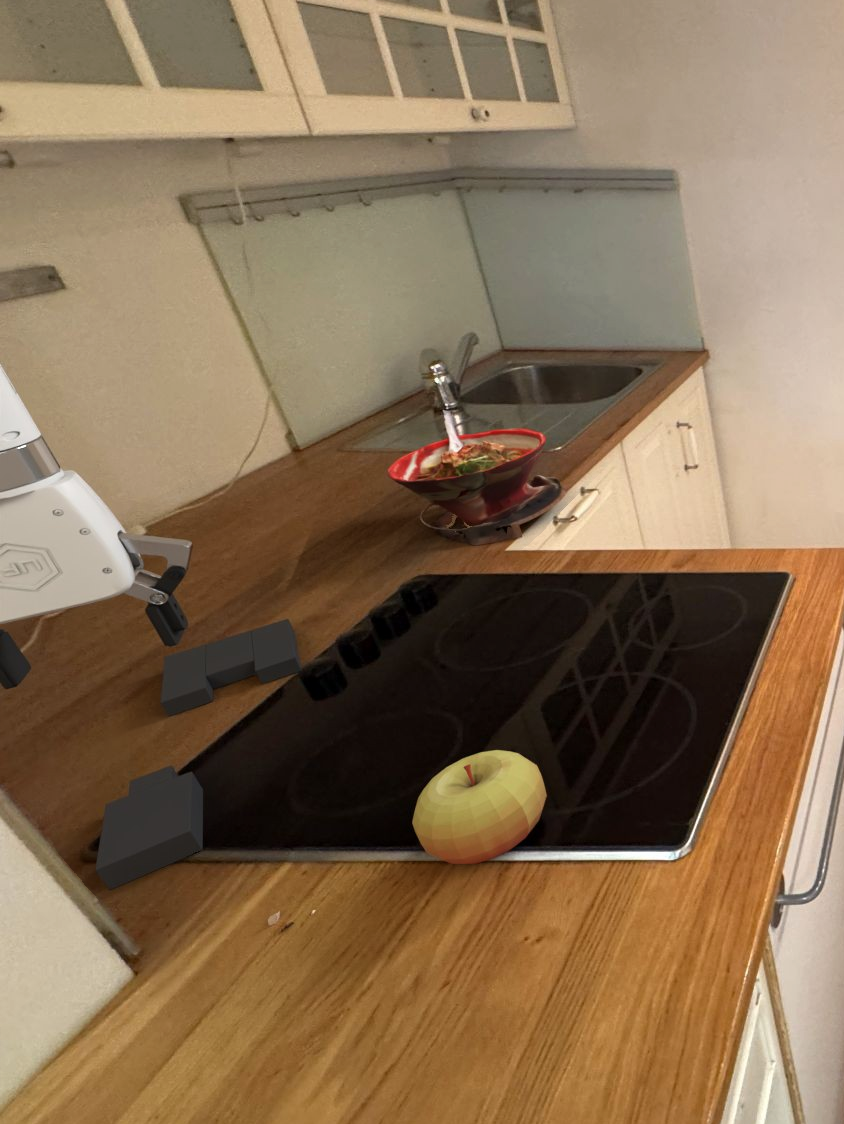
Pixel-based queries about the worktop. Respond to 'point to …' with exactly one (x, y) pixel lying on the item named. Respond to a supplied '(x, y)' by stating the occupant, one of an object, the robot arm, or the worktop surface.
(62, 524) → the robot arm
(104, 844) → the dark grey beveled block
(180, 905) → the worktop surface
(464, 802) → the apple
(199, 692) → the base pad
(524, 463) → the stew
